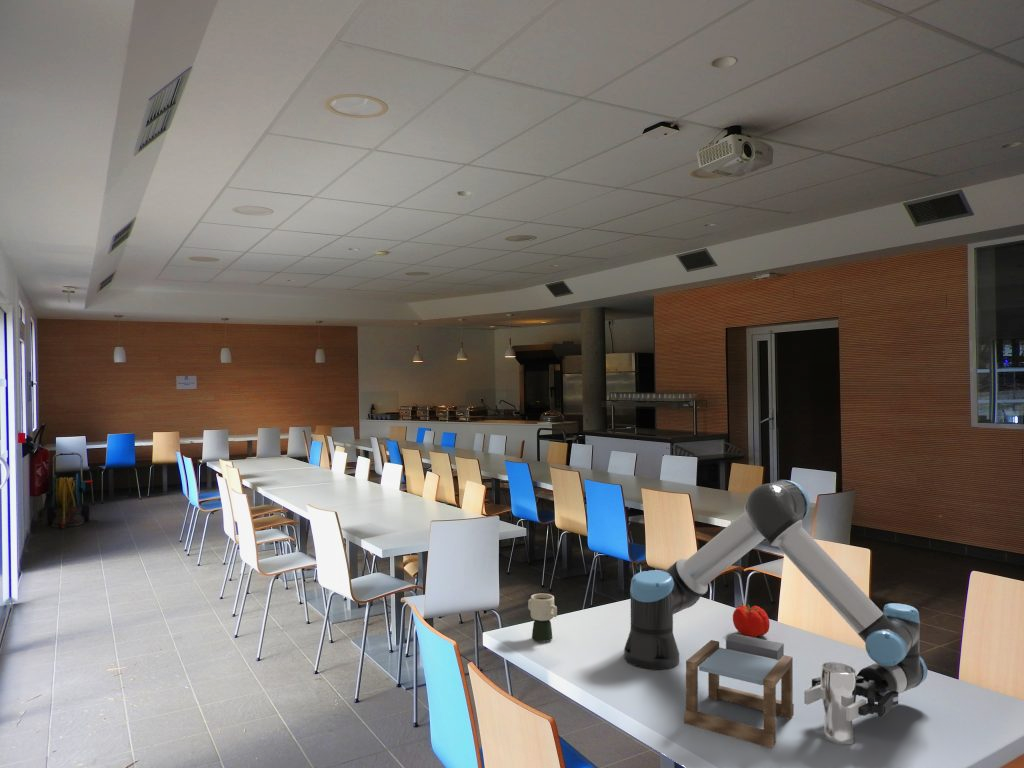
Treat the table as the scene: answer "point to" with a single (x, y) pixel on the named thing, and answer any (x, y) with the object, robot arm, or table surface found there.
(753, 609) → the tomato
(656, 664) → the robot arm
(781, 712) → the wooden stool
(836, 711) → the beer glass
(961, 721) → the table surface
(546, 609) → the character mug
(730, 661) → the trapdoor
